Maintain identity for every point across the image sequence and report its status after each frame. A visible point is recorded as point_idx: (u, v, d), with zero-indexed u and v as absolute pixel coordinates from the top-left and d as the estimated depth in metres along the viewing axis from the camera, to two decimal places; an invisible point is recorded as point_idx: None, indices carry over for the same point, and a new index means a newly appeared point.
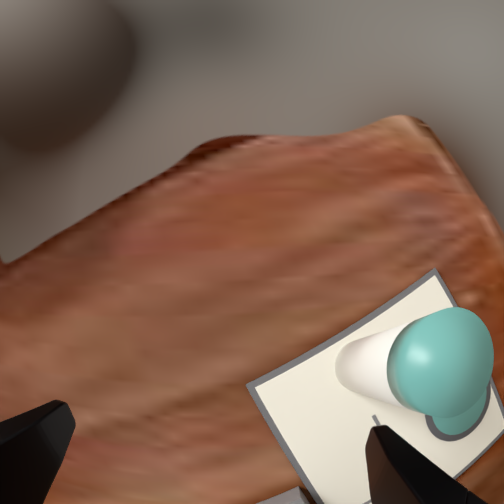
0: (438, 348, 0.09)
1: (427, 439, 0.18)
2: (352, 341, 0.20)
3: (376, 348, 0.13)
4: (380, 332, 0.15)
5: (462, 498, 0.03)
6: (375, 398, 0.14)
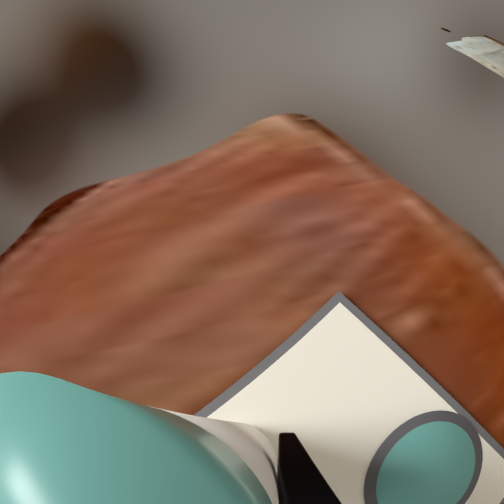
0: None
1: None
2: None
3: None
4: None
5: None
6: None
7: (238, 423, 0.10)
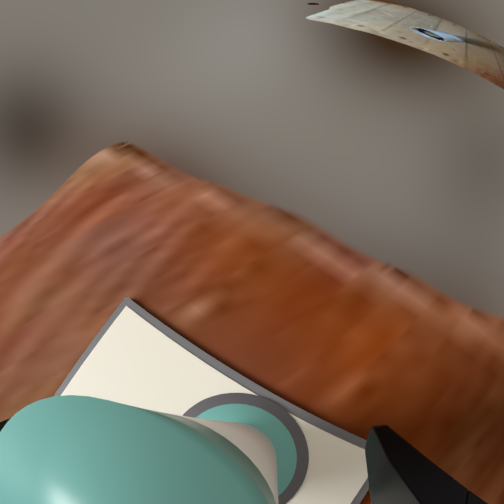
0: (41, 497, 0.02)
1: None
2: None
3: None
4: None
5: (462, 498, 0.03)
6: None
7: (241, 424, 0.11)
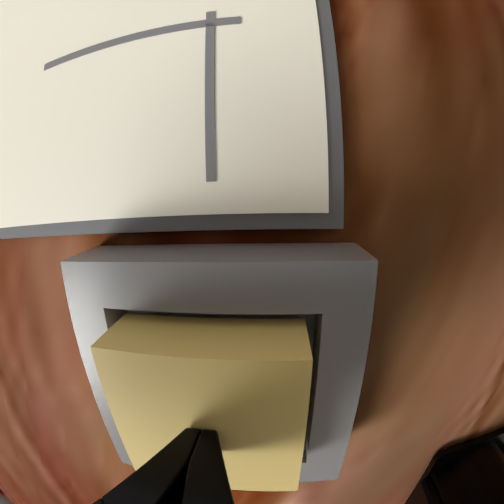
0: None
1: None
2: None
3: None
4: None
5: None
6: None
7: None
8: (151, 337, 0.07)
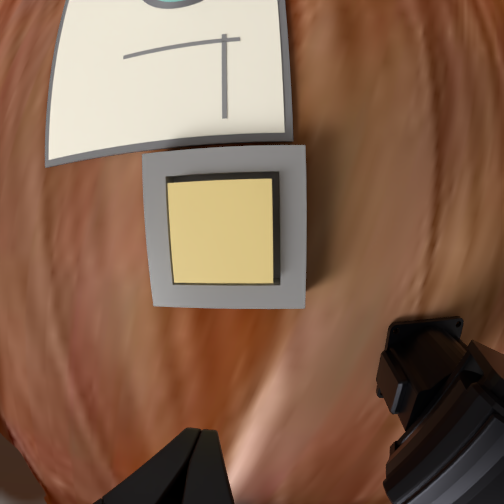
0: None
1: (193, 10, 0.15)
2: None
3: None
4: None
5: None
6: None
7: None
8: None
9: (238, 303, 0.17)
